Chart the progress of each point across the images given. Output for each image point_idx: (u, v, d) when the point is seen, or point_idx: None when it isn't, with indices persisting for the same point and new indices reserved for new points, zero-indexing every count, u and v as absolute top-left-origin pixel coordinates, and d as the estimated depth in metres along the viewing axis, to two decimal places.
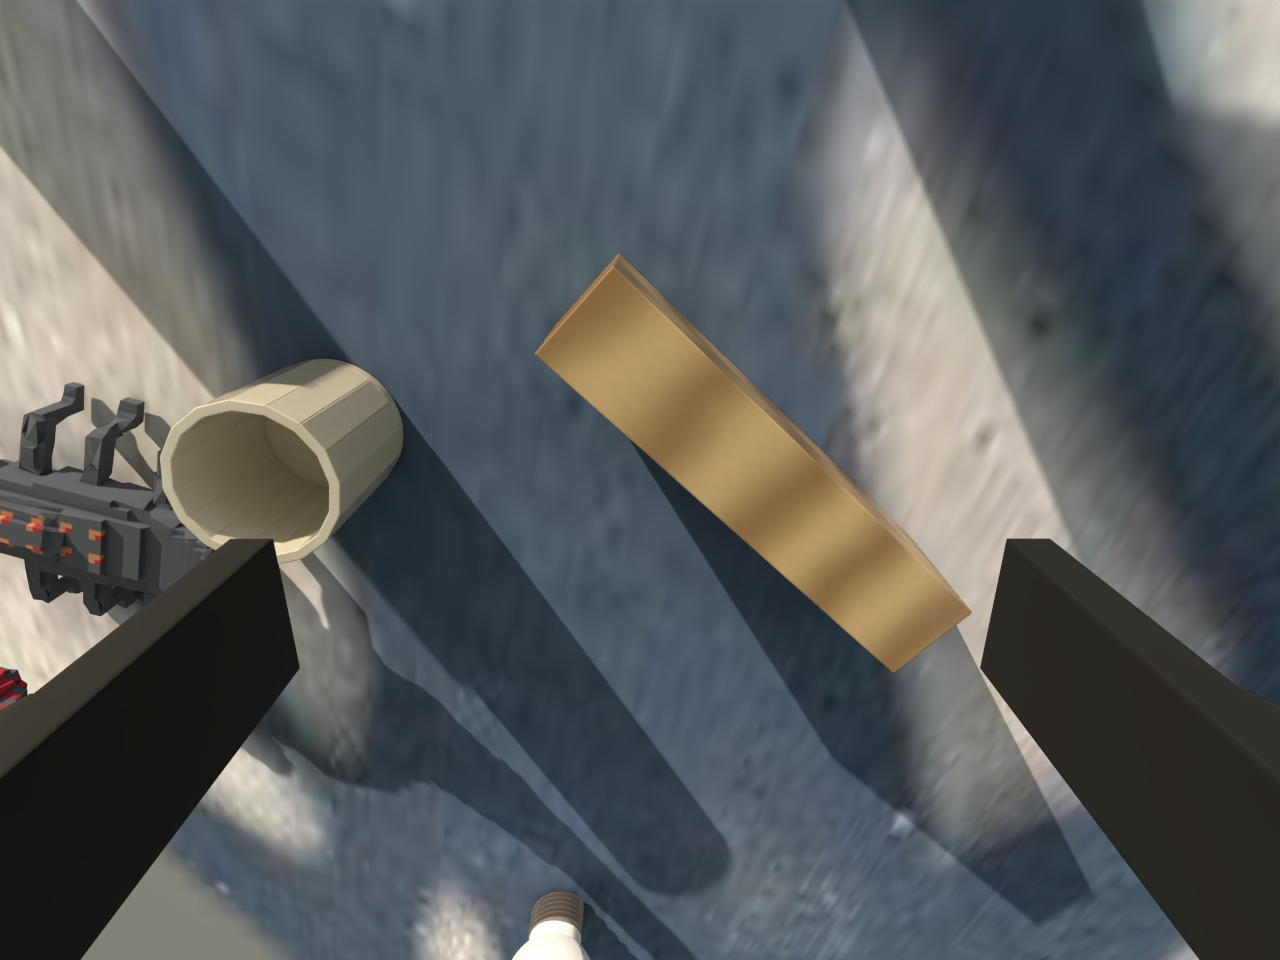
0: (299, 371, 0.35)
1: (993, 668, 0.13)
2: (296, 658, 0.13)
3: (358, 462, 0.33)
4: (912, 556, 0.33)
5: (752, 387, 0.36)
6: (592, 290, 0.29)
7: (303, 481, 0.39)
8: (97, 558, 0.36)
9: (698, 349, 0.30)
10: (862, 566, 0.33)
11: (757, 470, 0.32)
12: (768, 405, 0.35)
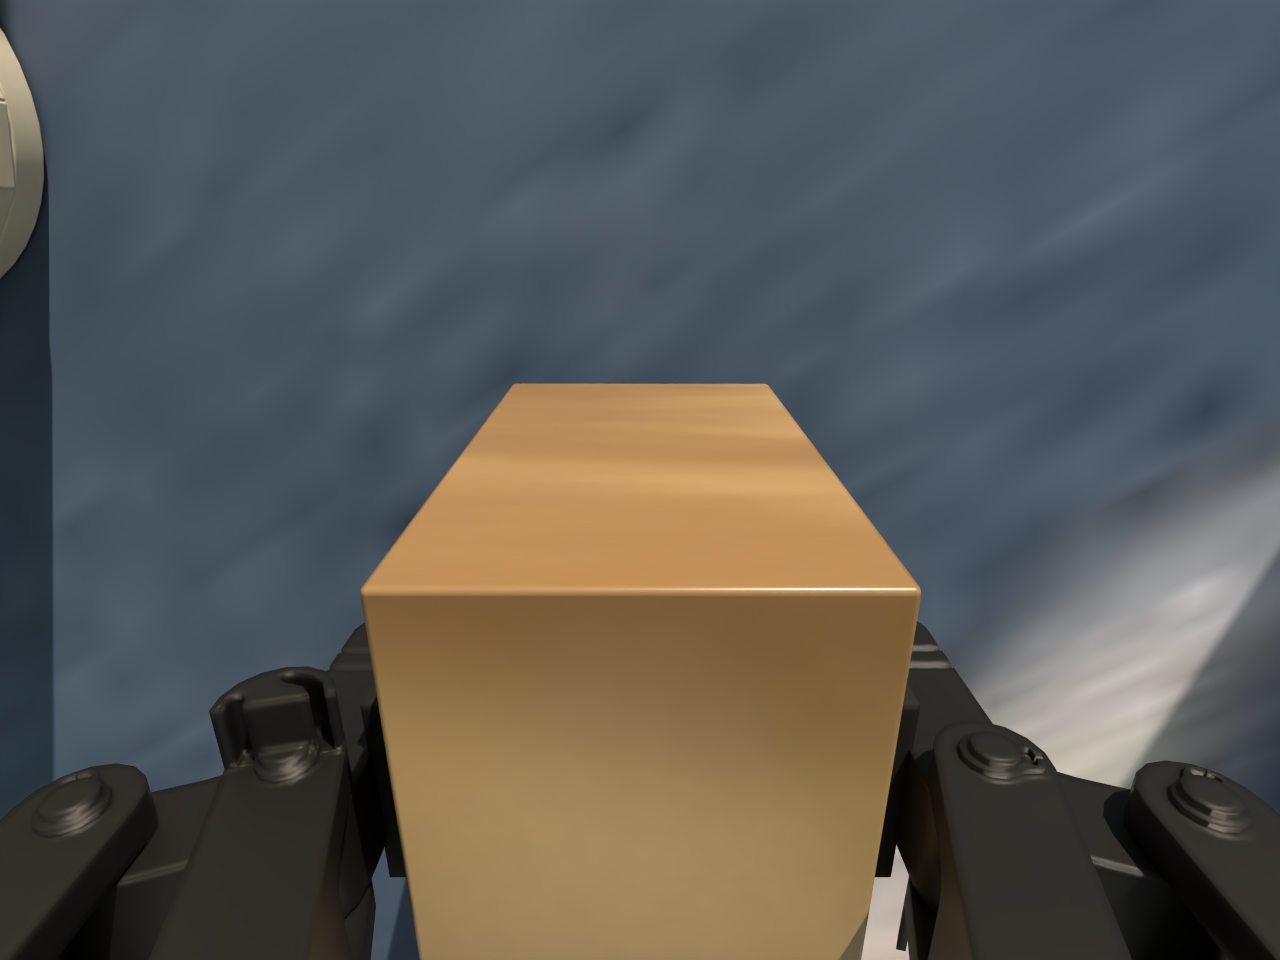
0: None
1: None
2: None
3: None
4: None
5: None
6: (773, 590, 0.06)
7: None
8: None
9: None
10: None
11: None
12: None
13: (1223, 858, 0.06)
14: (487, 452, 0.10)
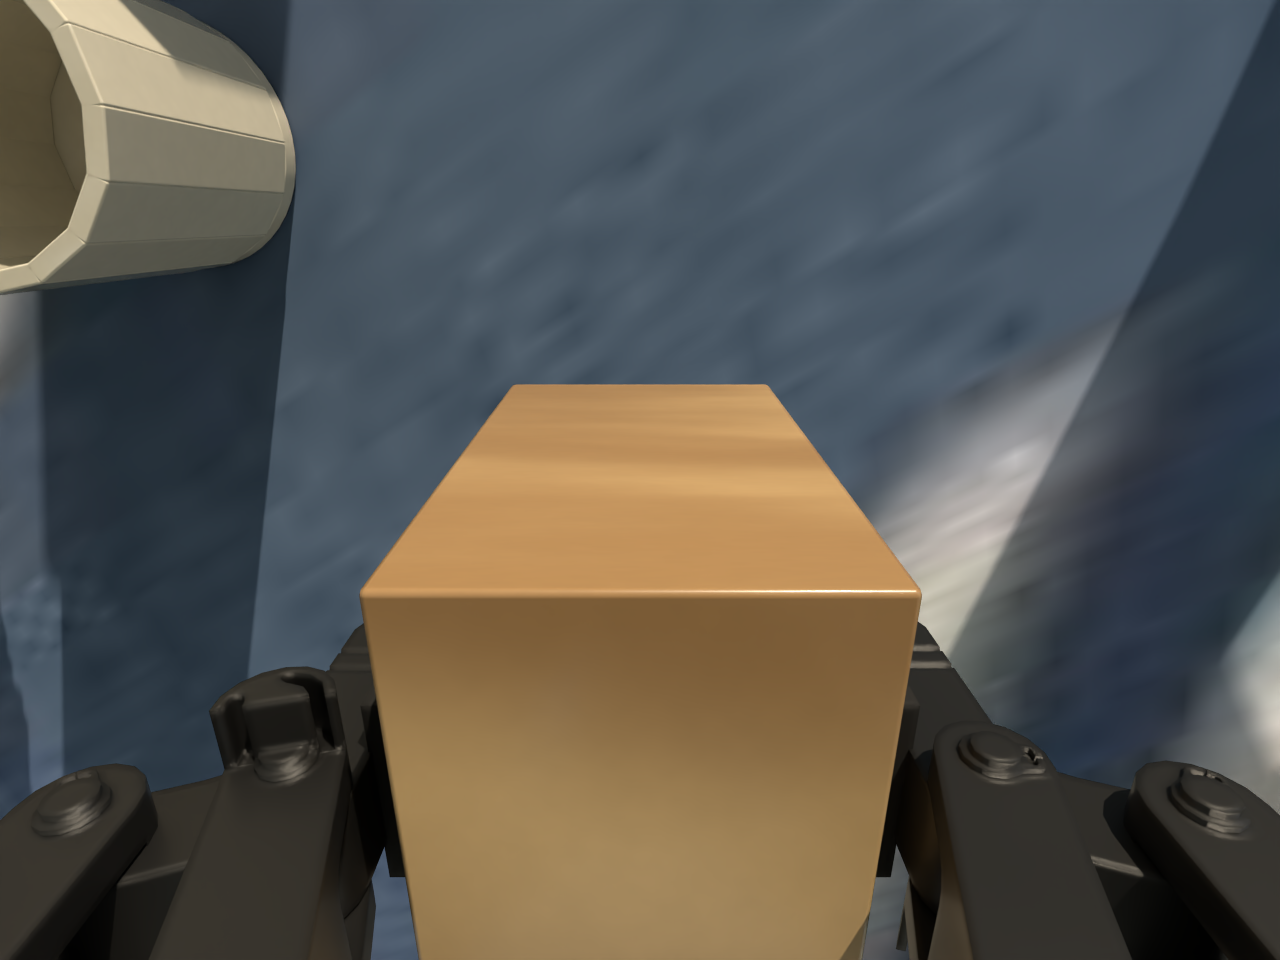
0: (191, 35, 0.19)
1: None
2: None
3: (155, 235, 0.18)
4: None
5: None
6: (774, 592, 0.06)
7: (60, 166, 0.23)
8: None
9: None
10: None
11: None
12: None
13: (1223, 859, 0.06)
14: (487, 453, 0.10)
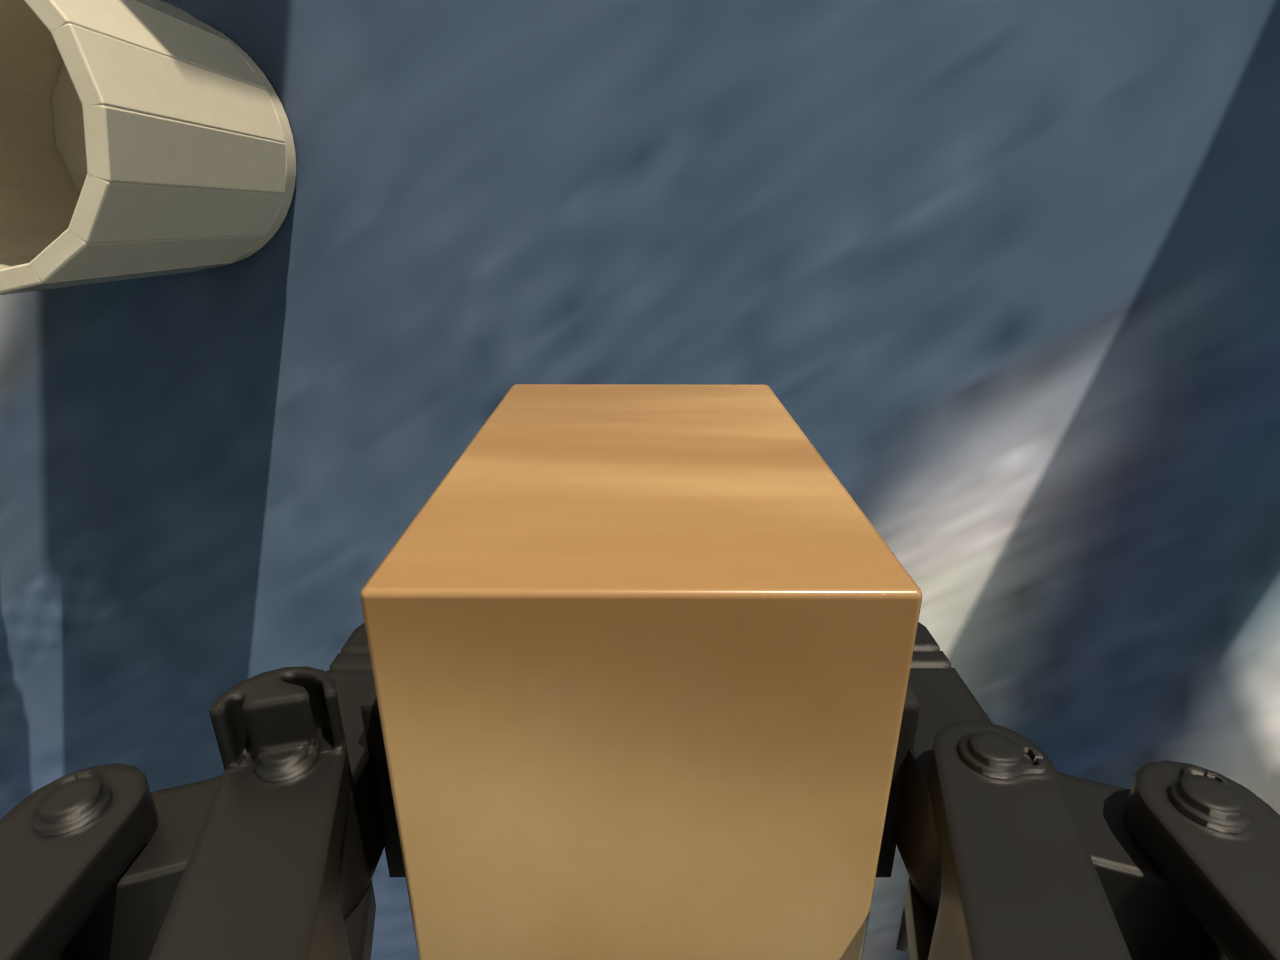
0: (192, 36, 0.19)
1: None
2: None
3: (156, 235, 0.18)
4: None
5: None
6: (774, 593, 0.06)
7: (60, 166, 0.23)
8: None
9: None
10: None
11: None
12: None
13: (1223, 858, 0.06)
14: (487, 453, 0.10)
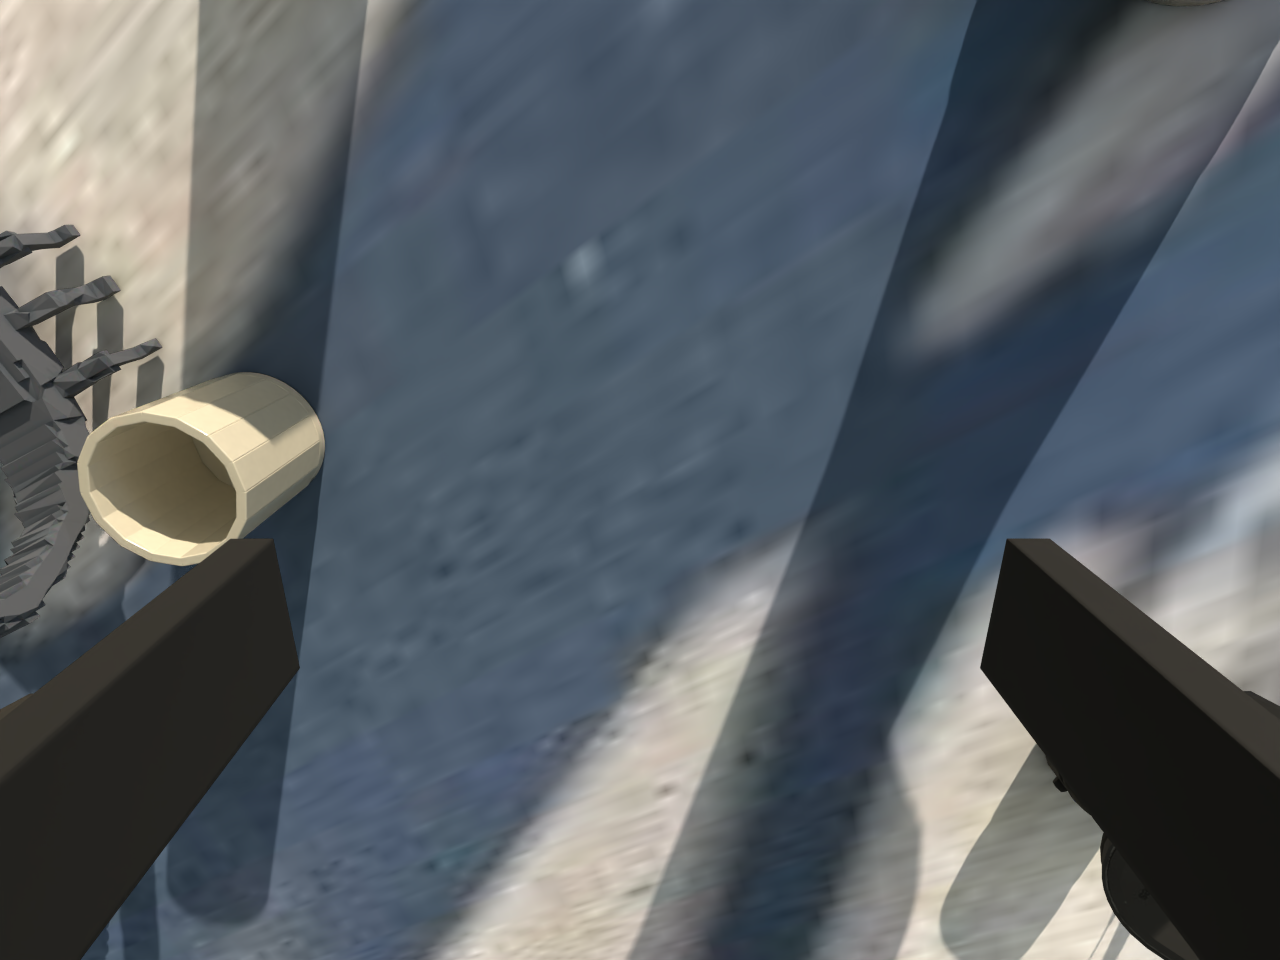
0: (274, 411, 0.38)
1: (993, 668, 0.13)
2: (296, 658, 0.13)
3: (259, 523, 0.36)
4: None
5: None
6: None
7: (195, 452, 0.41)
8: None
9: None
10: None
11: None
12: None
13: None
14: None
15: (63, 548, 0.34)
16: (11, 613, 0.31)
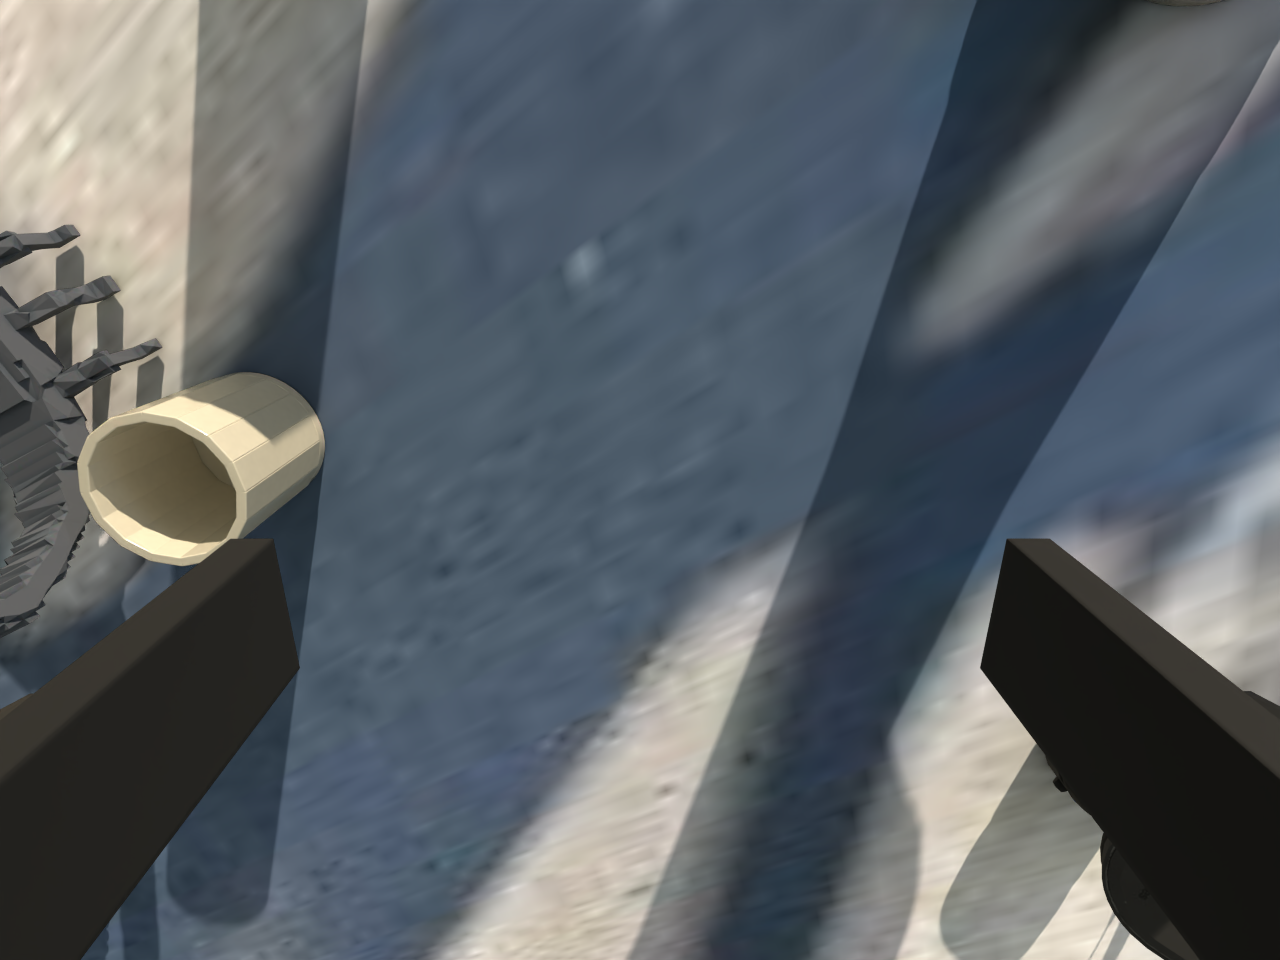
0: (274, 411, 0.38)
1: (993, 668, 0.13)
2: (296, 658, 0.13)
3: (259, 523, 0.36)
4: None
5: None
6: None
7: (195, 452, 0.41)
8: None
9: None
10: None
11: None
12: None
13: None
14: None
15: (63, 548, 0.34)
16: (11, 613, 0.31)
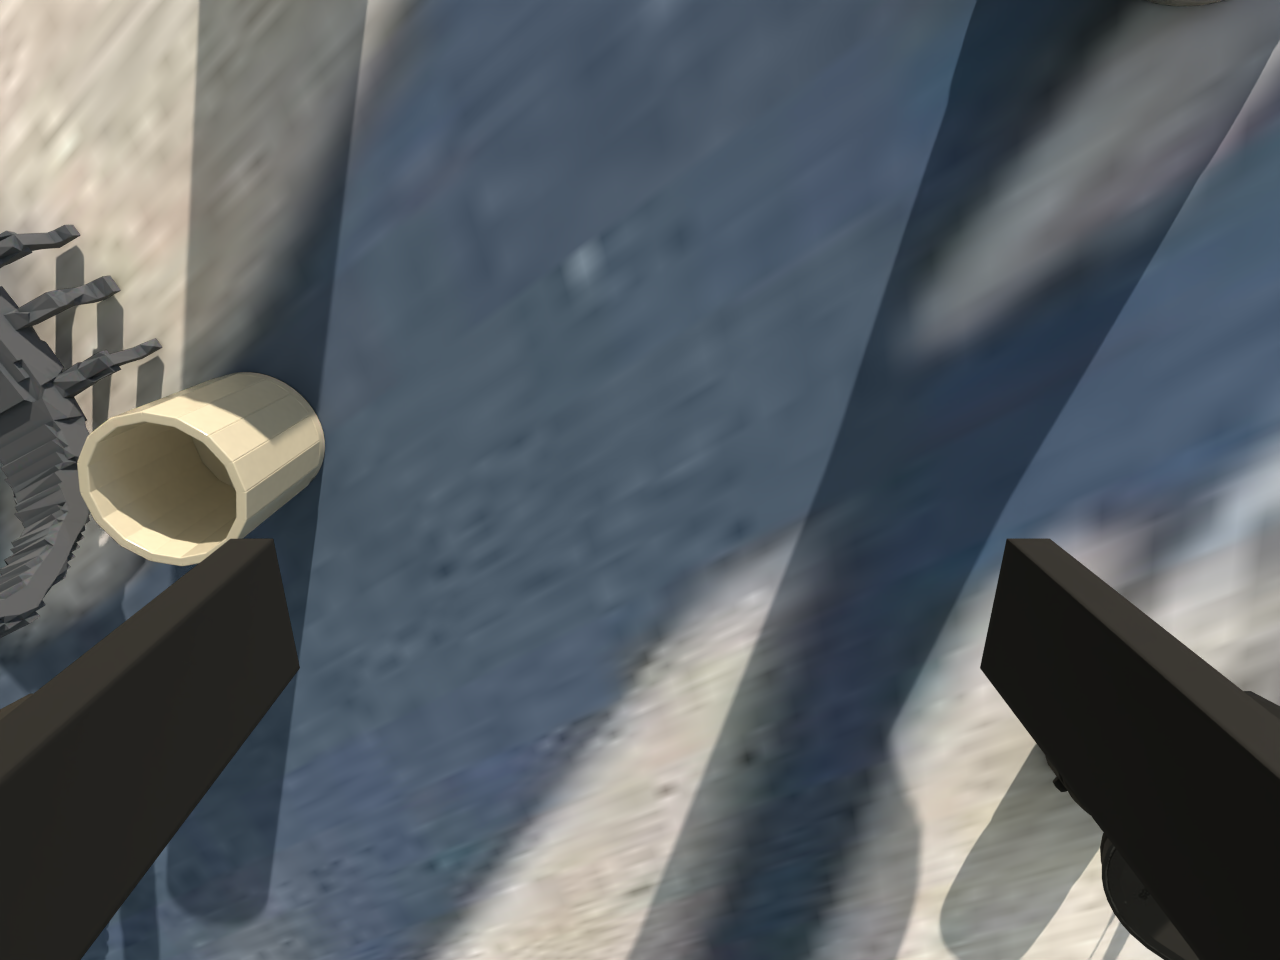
0: (274, 411, 0.38)
1: (993, 668, 0.13)
2: (296, 658, 0.13)
3: (259, 523, 0.36)
4: None
5: None
6: None
7: (195, 452, 0.41)
8: None
9: None
10: None
11: None
12: None
13: None
14: None
15: (63, 548, 0.34)
16: (11, 613, 0.31)
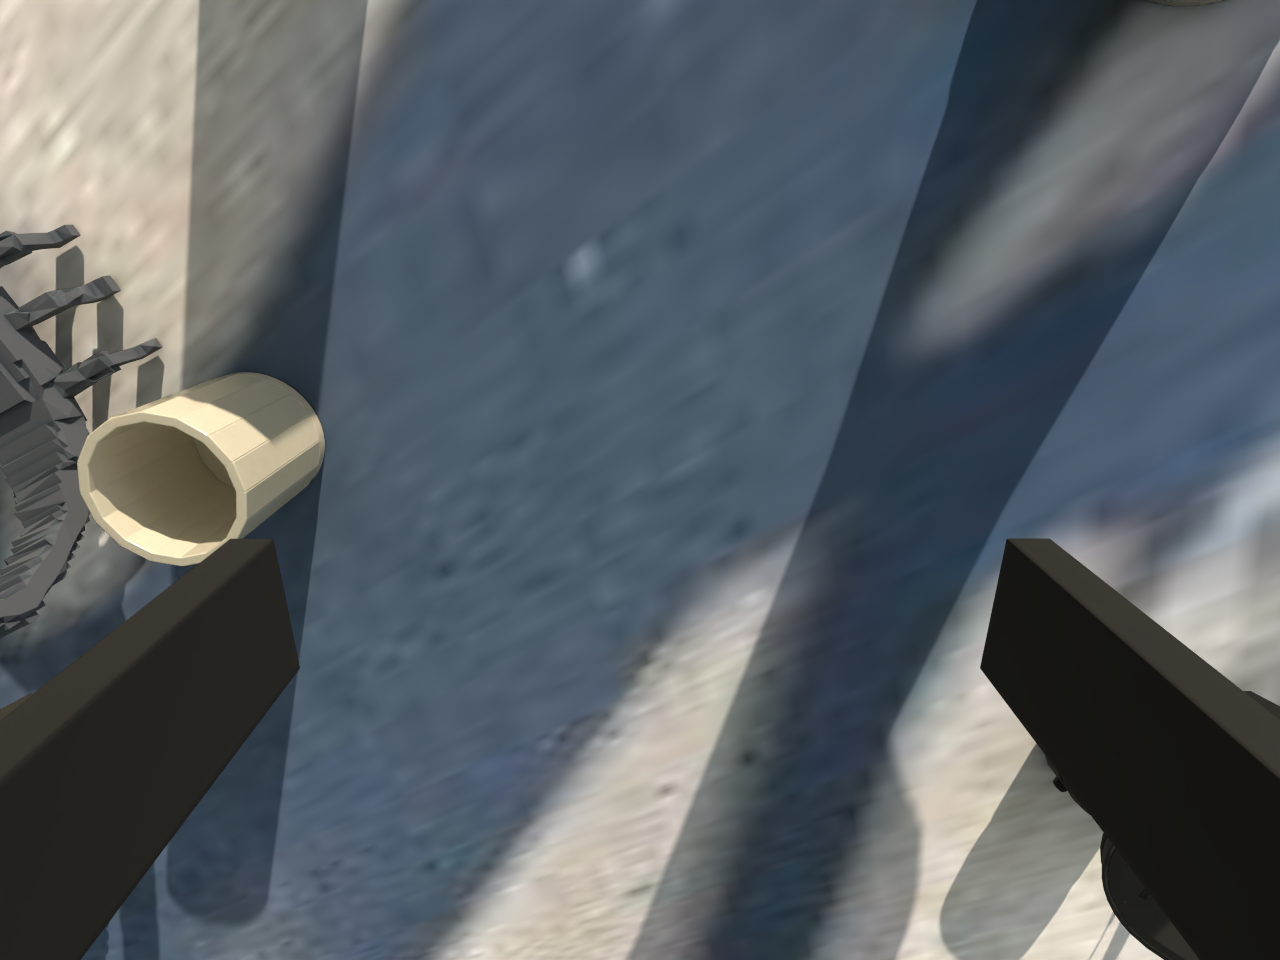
0: (274, 411, 0.38)
1: (993, 668, 0.13)
2: (296, 658, 0.13)
3: (259, 523, 0.36)
4: None
5: None
6: None
7: (195, 452, 0.41)
8: None
9: None
10: None
11: None
12: None
13: None
14: None
15: (63, 548, 0.34)
16: (11, 613, 0.31)
